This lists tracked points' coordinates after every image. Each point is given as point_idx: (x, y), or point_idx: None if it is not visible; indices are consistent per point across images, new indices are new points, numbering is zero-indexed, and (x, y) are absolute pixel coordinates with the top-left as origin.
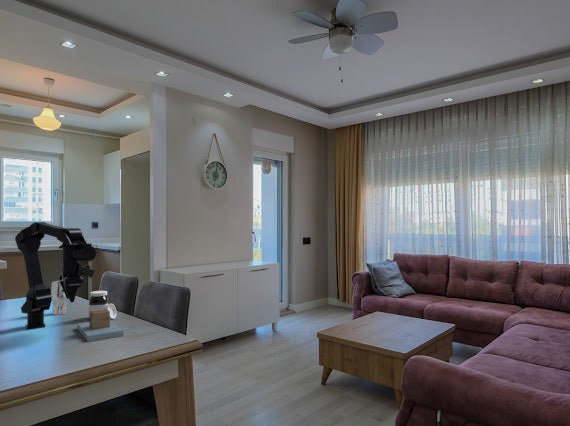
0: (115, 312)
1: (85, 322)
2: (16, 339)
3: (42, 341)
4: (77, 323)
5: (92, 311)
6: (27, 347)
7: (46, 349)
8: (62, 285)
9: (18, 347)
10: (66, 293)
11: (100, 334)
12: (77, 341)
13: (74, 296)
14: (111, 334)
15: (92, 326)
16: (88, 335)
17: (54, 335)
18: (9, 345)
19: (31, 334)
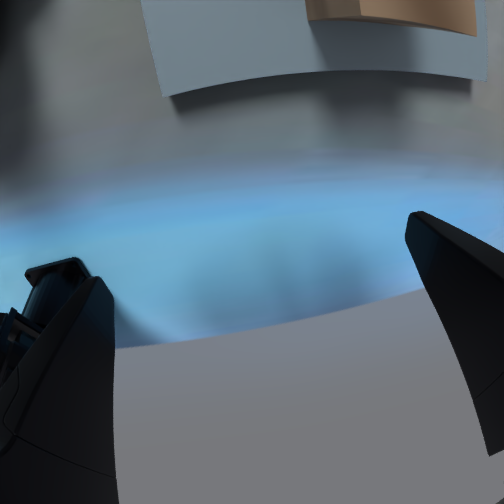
0: None
1: (154, 45)
2: (259, 306)
3: (353, 226)
4: (163, 95)
5: (402, 4)
6: (394, 257)
7: (455, 205)
8: (113, 489)
9: (374, 279)
10: (105, 364)
11: (485, 31)
12: (443, 106)
13: (482, 251)
14: None
15: (412, 26)
16: (481, 77)
17: (276, 192)
18: (330, 304)
19: (201, 280)
